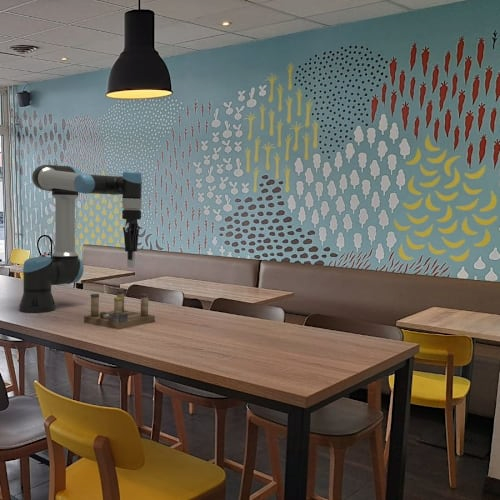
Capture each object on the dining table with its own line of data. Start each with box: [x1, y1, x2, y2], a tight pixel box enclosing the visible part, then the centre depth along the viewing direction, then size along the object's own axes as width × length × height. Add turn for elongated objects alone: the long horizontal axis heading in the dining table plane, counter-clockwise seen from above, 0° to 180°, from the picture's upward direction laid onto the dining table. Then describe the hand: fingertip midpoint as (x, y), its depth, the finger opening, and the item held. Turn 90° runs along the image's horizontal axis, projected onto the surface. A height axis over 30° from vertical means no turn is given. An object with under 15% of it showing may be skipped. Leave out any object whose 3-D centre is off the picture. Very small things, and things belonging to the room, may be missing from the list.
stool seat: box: [83, 290, 156, 330], centre depth 236 cm, size 20×20×11 cm
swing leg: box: [99, 296, 122, 319], centre depth 228 cm, size 12×3×9 cm, turn 53°
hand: (131, 267), depth 235 cm, fingers closed
